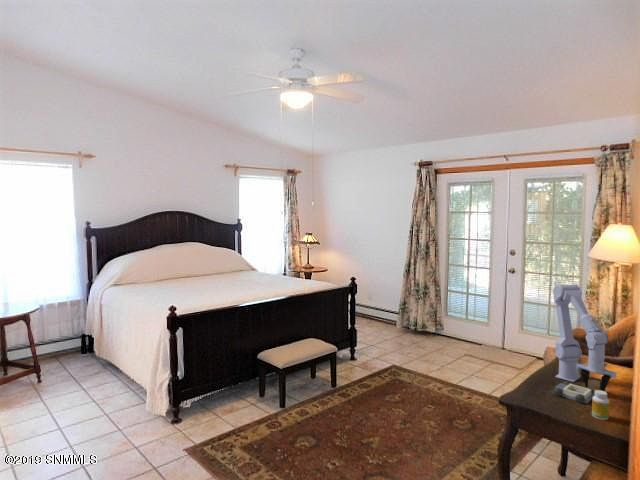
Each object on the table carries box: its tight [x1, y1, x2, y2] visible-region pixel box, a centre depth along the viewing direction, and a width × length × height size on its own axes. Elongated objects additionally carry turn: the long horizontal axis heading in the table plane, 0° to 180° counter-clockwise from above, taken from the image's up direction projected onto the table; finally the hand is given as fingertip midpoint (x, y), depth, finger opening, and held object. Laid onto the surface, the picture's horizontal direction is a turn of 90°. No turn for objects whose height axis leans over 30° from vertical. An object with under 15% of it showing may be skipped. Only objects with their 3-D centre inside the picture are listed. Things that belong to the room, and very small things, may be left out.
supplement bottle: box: [591, 390, 610, 421], centre depth 160 cm, size 5×5×10 cm
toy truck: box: [552, 380, 595, 404], centre depth 179 cm, size 12×13×3 cm
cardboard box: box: [588, 376, 602, 396], centre depth 181 cm, size 4×4×6 cm
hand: (595, 389), depth 181 cm, fingers open, 5 cm apart
